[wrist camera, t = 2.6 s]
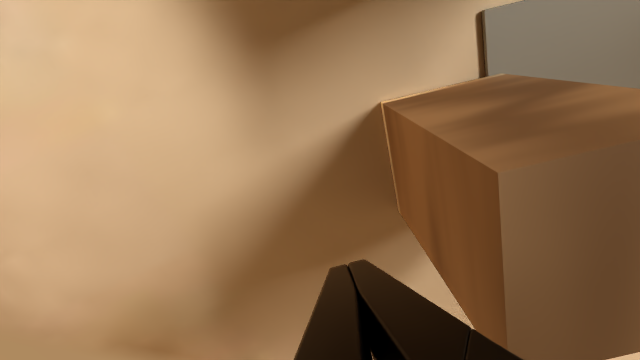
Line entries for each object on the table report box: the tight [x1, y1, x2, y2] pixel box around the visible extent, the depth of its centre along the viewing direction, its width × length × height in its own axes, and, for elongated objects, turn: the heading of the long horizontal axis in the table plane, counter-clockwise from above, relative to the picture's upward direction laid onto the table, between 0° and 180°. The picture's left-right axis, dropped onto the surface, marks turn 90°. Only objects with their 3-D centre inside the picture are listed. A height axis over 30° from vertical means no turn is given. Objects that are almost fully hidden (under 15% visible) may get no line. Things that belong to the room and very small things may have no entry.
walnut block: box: [380, 73, 640, 360], centre depth 11 cm, size 5×5×9 cm
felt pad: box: [482, 0, 640, 89], centre depth 16 cm, size 10×10×1 cm
